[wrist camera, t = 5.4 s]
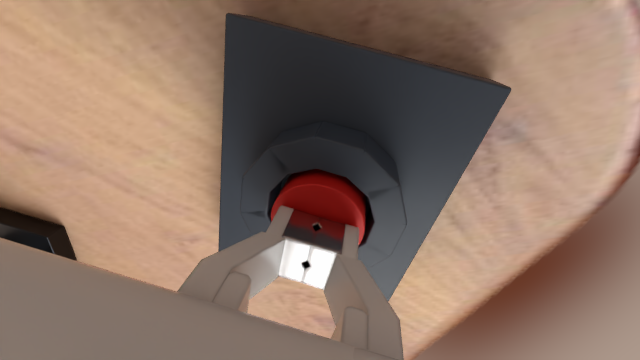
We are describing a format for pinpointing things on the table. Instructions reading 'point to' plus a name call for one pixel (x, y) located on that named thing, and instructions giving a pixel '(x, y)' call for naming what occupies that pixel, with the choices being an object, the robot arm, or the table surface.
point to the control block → (345, 133)
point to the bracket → (35, 233)
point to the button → (324, 198)
